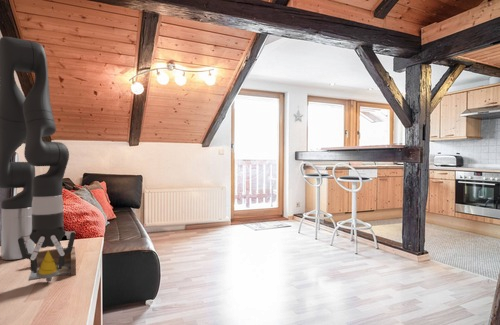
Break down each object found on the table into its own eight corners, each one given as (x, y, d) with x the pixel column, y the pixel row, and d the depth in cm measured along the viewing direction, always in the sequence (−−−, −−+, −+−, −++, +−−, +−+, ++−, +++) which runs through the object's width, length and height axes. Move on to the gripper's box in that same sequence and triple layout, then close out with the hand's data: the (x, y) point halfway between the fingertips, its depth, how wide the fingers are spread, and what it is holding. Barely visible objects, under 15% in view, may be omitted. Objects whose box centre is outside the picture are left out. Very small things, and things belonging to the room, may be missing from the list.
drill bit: (55, 274, 90) (55, 243, 88) (61, 282, 87) (62, 251, 85) (33, 280, 86) (33, 248, 84) (40, 290, 83) (40, 257, 81)
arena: (33, 267, 98) (33, 251, 98) (74, 261, 104) (74, 246, 104) (28, 283, 85) (28, 266, 85) (75, 275, 91) (75, 259, 91)
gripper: (14, 215, 79) (14, 279, 79) (77, 211, 87) (77, 269, 87) (18, 211, 86) (18, 270, 86) (76, 207, 93) (76, 261, 93)
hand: (48, 269), depth 86 cm, fingers closed on drill bit, 5 cm apart
